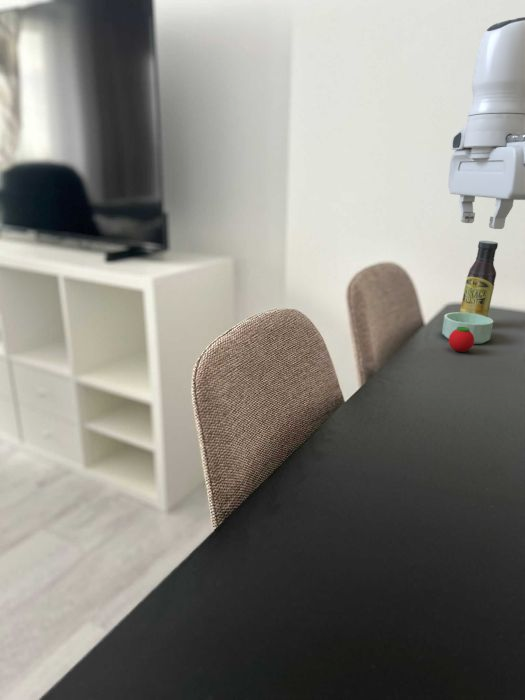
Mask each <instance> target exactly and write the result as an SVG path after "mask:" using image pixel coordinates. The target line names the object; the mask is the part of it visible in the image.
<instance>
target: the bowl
mask: <svg viewBox="0 0 525 700" xmlns="http://www.w3.org/2000/svg"><path fill="white" fill-rule="evenodd" d="M457 327H467V328H469V329H470V330H469V331H470V332H471V333H472V334H473V336H474V344H473V345H480V344H484V343H487V342H488V341H490V340H491V338H492V332H493V327H494V320H493V318H491V317H489V316H488V317H486V316H483V315H479V314H473V313H464V312H460V311H458V312H457V311H456V312H448V313H446V314H444V315H443V322H442V327H441V334H442V335H443V336H444V337H445V338H446V339H448V340H449V336H450V334H451V333H452V332H453V331H454V330H456V329H457Z"/></svg>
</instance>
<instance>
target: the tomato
mask: <svg viewBox="0 0 525 700" xmlns="http://www.w3.org/2000/svg"><path fill="white" fill-rule="evenodd" d="M469 330H470V329H469V328H467V327H457V329H456V330H454V331H453V332H452V333H451V334H450V336H449V339H448V344H449V346H450V347H451V349H452V350H454V351H455V352H459V353H464V352H467V351H470V350H471V349H472V347H473V346H474V345H475V344H474V336H473V334H472V333H471V332H470V331H469Z"/></svg>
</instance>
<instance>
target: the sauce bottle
mask: <svg viewBox="0 0 525 700" xmlns="http://www.w3.org/2000/svg"><path fill="white" fill-rule="evenodd" d="M498 247H499V243H498V242H497V241H492V240H479V241H478V245H477V254H476V258H475V261H474V262H473V264H472V265H471V267H470V268H469V271H468V274H467V277H466V280H465V283H464V284H465V285H464V289H463V295H462V300H461V304H460V310H459V312H464V313H473V314H479V315H483V316H486V317H489V311H490V309H491V303H492V297H493V293H494V288H495V282H496V277H497V270H496V268H495V266H494V265H495V263H494V262H495V255H496V251H497V249H498Z"/></svg>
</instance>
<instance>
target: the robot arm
mask: <svg viewBox="0 0 525 700" xmlns="http://www.w3.org/2000/svg"><path fill="white" fill-rule="evenodd" d="M476 53H477V54H476V58H475V63H474V68H473V75H472V82H471V92H472V101H471V106H470V108H469V110H468V114H467V119H466V124H465V125H464V126H463V127H462V128H461V130H459V131H458V132H457V133H456V134H455V135H453V137H452V138H451V142H450V149H451V151H453V153H452V154H451V157H450V163H449V172H448V184H447V185H448V190H449V191H448V192H449V193H450V194H451V195H458V196H459V201H458V202H459V208H460V212H461V213H460V222H461V223H462V224H463V223H464V224H473V223H474V222H475V216H476V212H474V203H475V199H476V197H477V198H478V197H479V198H487V199H488V198H489V199H495V203H494V205H495V211H494V213H493V215H492V216H489V222H488V227H489V229H495V230H503V229H504V228H505V224H506V219H507V217H508V216H509V214H510V212H511V210H512V209H513V207H514V201H525V16H524V17H523V16H522V17H516V18H514V19H507V20H504V21H500V22H498V23H495V24H493V25H491V26H489V27H487V29H485V31H484V32H483V35H482V37H481V40H480V43H479V45H478V49H477V52H476Z"/></svg>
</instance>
